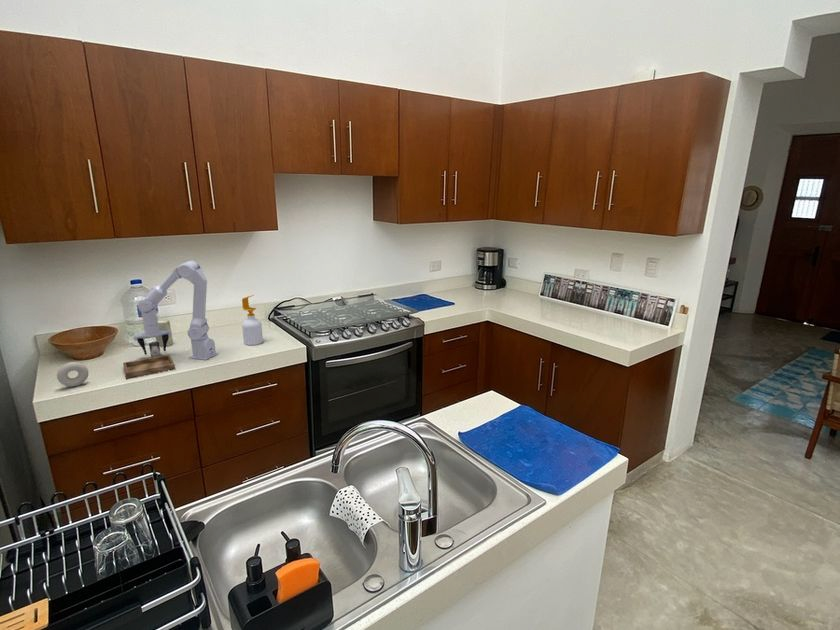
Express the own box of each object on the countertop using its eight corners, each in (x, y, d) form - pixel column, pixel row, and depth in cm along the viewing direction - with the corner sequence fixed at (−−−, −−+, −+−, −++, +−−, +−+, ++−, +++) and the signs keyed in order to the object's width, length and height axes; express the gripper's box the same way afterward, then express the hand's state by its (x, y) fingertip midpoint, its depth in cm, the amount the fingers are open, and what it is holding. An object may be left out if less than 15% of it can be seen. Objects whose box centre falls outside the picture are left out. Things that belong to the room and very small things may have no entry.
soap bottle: (255, 346, 225) (250, 298, 218) (240, 344, 228) (235, 296, 221) (266, 340, 233) (262, 294, 226) (252, 338, 236) (247, 292, 229)
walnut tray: (170, 359, 207) (169, 354, 207) (175, 369, 196) (174, 364, 196) (123, 368, 197) (122, 362, 196) (126, 379, 186) (125, 373, 186)
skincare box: (173, 343, 228) (170, 320, 225) (169, 346, 224) (165, 322, 221) (160, 343, 228) (156, 320, 225) (156, 346, 224) (152, 322, 220)
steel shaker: (163, 356, 211) (161, 341, 209) (156, 359, 207) (154, 344, 206) (155, 355, 212) (153, 341, 210) (148, 358, 208) (146, 344, 206)
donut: (60, 391, 175) (54, 367, 172) (59, 388, 178) (53, 364, 175) (91, 383, 182) (86, 360, 179) (90, 381, 184) (85, 358, 181)
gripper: (167, 319, 213) (171, 346, 216) (131, 324, 204) (136, 352, 208) (169, 323, 207) (173, 351, 211) (132, 328, 199) (137, 357, 203)
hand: (155, 352), depth 209 cm, fingers open, 7 cm apart
